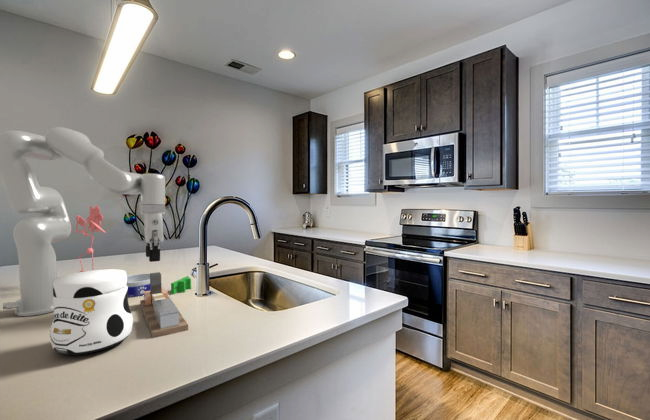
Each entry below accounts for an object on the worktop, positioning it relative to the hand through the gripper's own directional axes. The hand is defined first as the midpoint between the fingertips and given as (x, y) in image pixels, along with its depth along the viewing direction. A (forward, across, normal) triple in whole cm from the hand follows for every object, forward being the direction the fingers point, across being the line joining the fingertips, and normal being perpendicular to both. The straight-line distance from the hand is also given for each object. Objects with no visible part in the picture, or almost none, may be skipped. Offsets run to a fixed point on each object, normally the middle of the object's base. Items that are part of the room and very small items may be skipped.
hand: (152, 258), depth 113 cm
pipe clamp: (+17, +14, -13) cm, 25 cm away
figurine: (+18, +50, +16) cm, 56 cm away
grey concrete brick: (+15, -21, -1) cm, 26 cm away
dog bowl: (+18, +23, +3) cm, 29 cm away
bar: (+15, -8, -1) cm, 17 cm away
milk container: (+17, -25, +16) cm, 34 cm away
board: (+16, -13, -1) cm, 21 cm away
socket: (+15, +1, -1) cm, 15 cm away
